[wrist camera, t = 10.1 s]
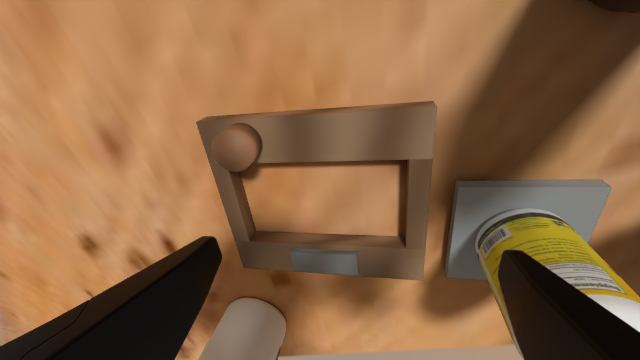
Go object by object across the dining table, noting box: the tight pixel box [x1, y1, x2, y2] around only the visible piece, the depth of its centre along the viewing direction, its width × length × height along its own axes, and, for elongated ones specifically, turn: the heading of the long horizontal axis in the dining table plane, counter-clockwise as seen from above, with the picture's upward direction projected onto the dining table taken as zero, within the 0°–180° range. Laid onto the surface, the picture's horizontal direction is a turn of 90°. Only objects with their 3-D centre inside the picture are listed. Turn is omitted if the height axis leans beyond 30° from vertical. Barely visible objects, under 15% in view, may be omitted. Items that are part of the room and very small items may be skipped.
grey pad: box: [444, 180, 612, 281], centre depth 21 cm, size 9×9×1 cm
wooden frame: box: [196, 101, 437, 281], centre depth 22 cm, size 17×15×4 cm
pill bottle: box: [475, 208, 640, 359], centre depth 16 cm, size 6×6×11 cm
